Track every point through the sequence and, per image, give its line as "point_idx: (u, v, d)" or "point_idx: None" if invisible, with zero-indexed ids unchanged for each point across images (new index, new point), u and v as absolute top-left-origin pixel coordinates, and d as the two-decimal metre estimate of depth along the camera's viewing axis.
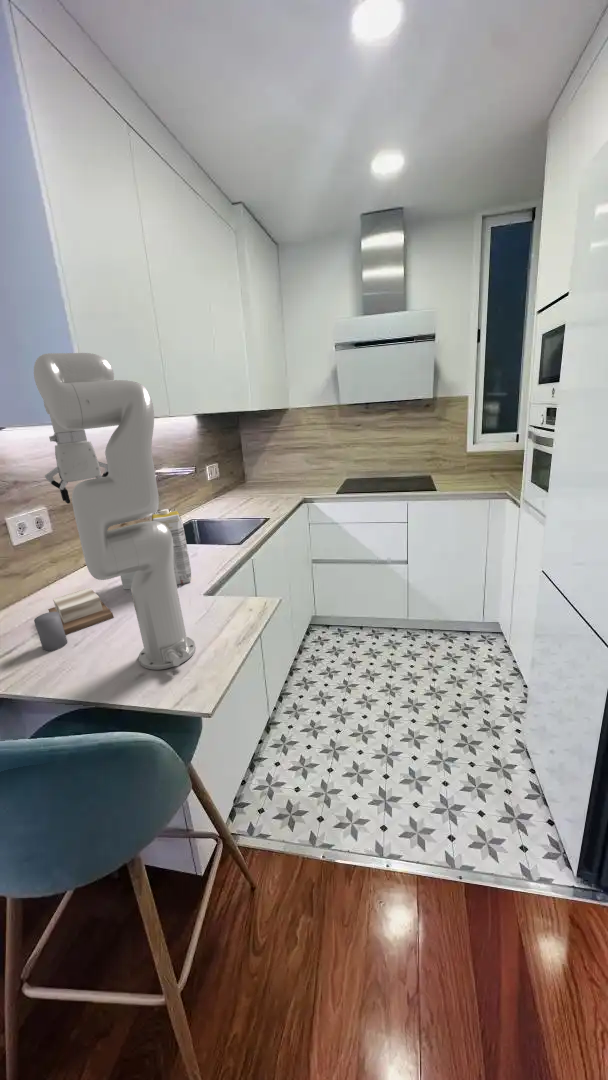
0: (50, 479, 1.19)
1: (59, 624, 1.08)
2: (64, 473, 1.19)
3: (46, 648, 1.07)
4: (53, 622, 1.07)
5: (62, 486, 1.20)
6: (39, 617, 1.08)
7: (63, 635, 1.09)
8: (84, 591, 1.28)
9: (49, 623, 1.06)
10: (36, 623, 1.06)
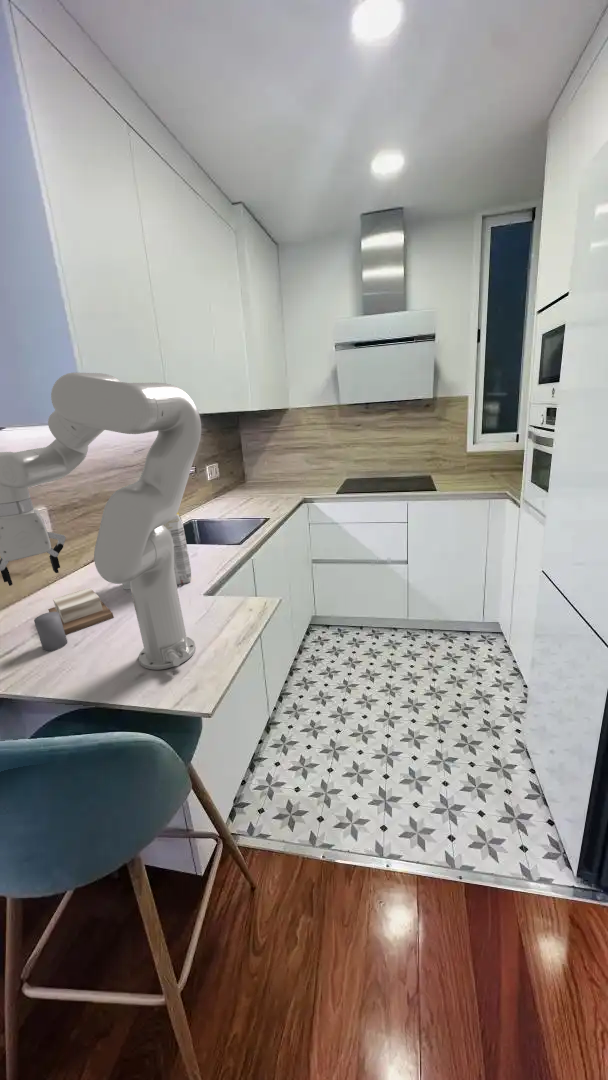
0: None
1: (59, 624, 1.08)
2: (3, 551, 0.97)
3: (46, 648, 1.07)
4: (53, 623, 1.07)
5: (2, 566, 0.99)
6: (39, 617, 1.08)
7: (63, 635, 1.09)
8: (84, 591, 1.28)
9: (49, 623, 1.06)
10: (36, 623, 1.06)
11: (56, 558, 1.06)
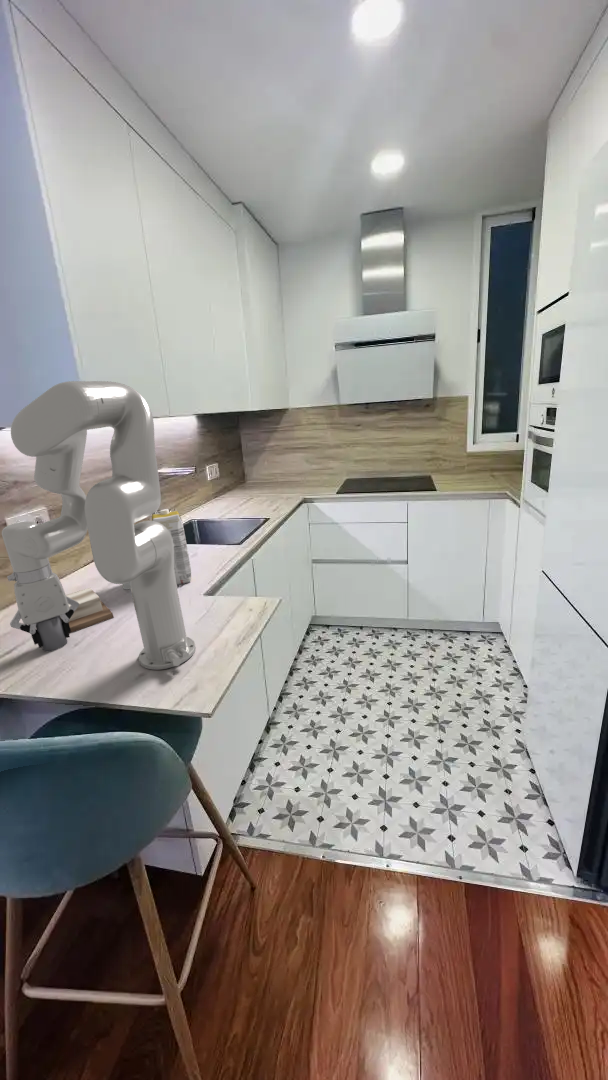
0: (17, 625, 1.04)
1: (59, 624, 1.08)
2: (25, 616, 1.02)
3: (46, 648, 1.07)
4: (53, 622, 1.07)
5: (32, 630, 1.05)
6: None
7: (63, 635, 1.09)
8: (84, 591, 1.28)
9: (49, 623, 1.06)
10: (36, 623, 1.06)
11: (67, 623, 1.10)
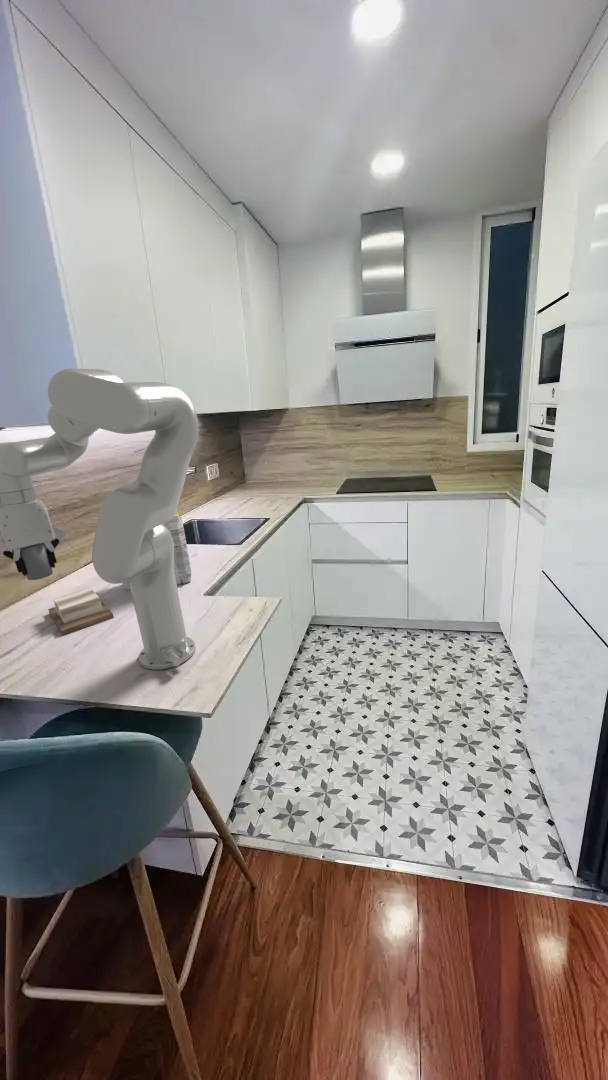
0: (0, 550, 1.00)
1: (44, 552, 1.05)
2: (8, 540, 0.99)
3: (30, 576, 1.04)
4: (38, 549, 1.03)
5: (16, 556, 1.02)
6: None
7: (48, 564, 1.06)
8: (84, 591, 1.28)
9: (33, 550, 1.03)
10: (20, 549, 1.02)
11: (52, 553, 1.07)
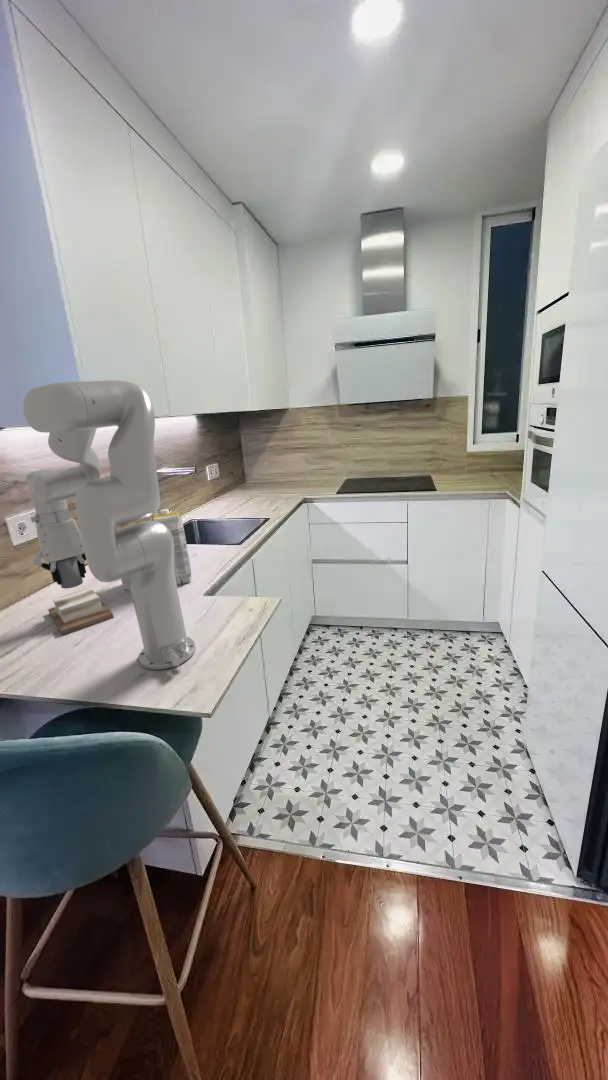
0: (39, 563, 1.16)
1: (76, 564, 1.20)
2: (46, 554, 1.14)
3: (64, 585, 1.19)
4: (71, 562, 1.19)
5: (52, 568, 1.17)
6: None
7: (79, 575, 1.21)
8: (84, 591, 1.28)
9: (67, 562, 1.18)
10: None
11: (83, 565, 1.22)
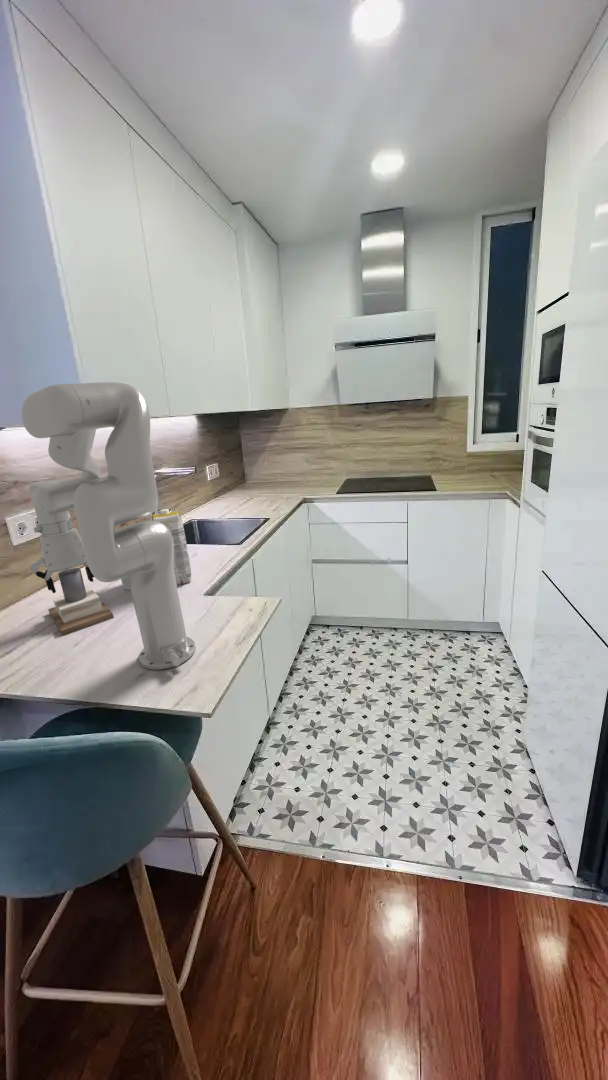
0: (35, 570, 1.15)
1: (80, 578, 1.21)
2: (49, 564, 1.15)
3: (68, 599, 1.21)
4: (75, 576, 1.20)
5: (47, 576, 1.17)
6: (63, 572, 1.21)
7: (83, 589, 1.23)
8: None
9: (71, 577, 1.19)
10: (60, 576, 1.19)
11: None
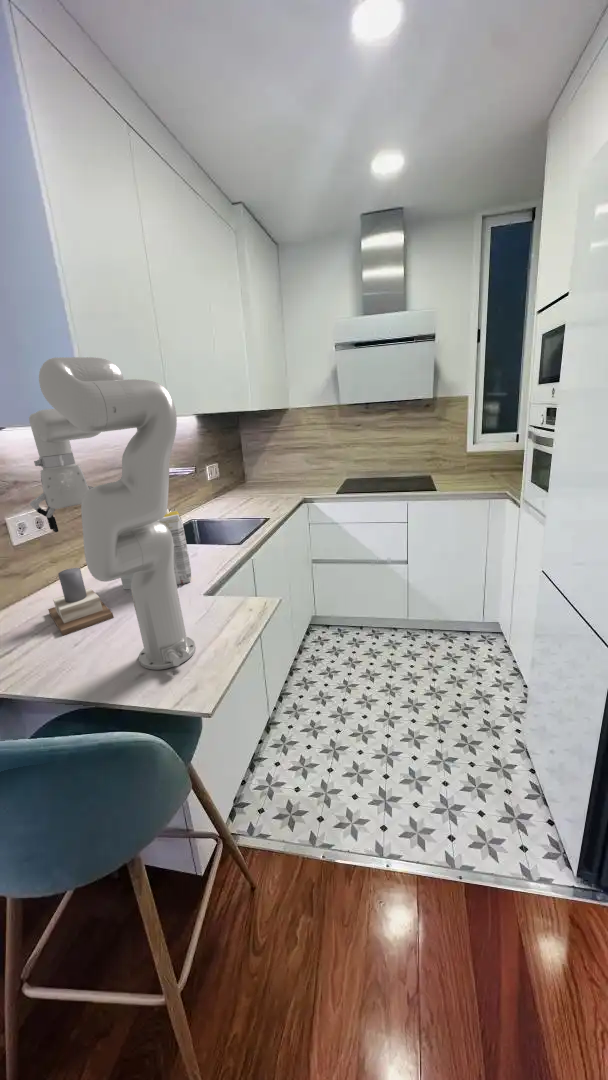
0: (36, 506, 1.10)
1: (80, 578, 1.21)
2: (51, 500, 1.10)
3: (68, 599, 1.21)
4: (75, 576, 1.20)
5: (49, 514, 1.11)
6: (63, 572, 1.21)
7: (83, 589, 1.23)
8: None
9: (71, 577, 1.19)
10: (60, 576, 1.19)
11: None
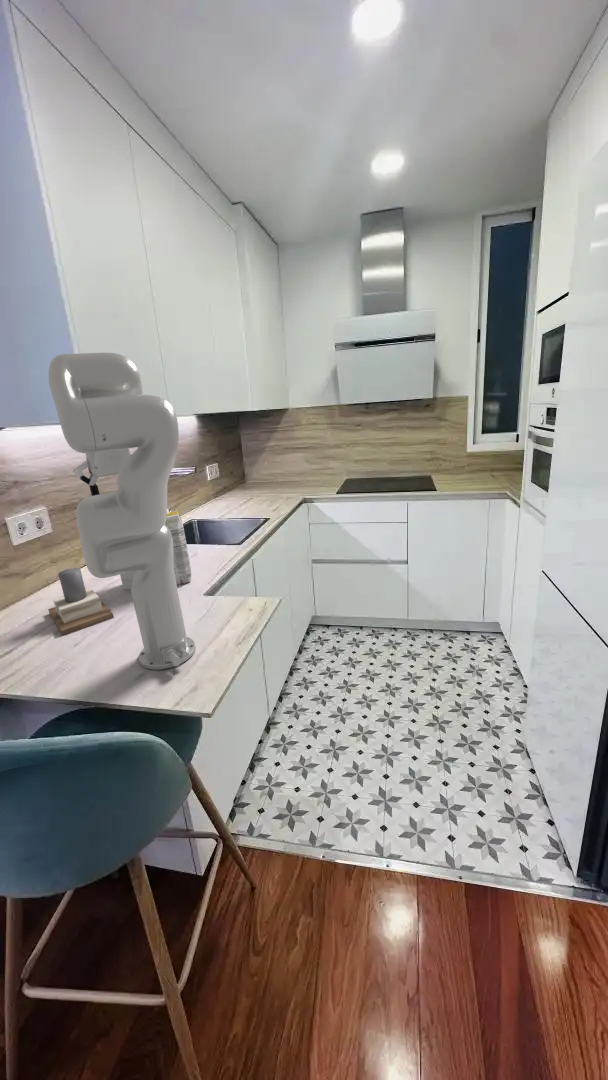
0: (80, 474, 1.08)
1: (80, 579, 1.21)
2: (95, 467, 1.08)
3: (68, 599, 1.21)
4: (75, 576, 1.20)
5: (92, 482, 1.09)
6: (63, 571, 1.21)
7: (83, 589, 1.23)
8: None
9: (71, 577, 1.19)
10: (60, 576, 1.19)
11: None
